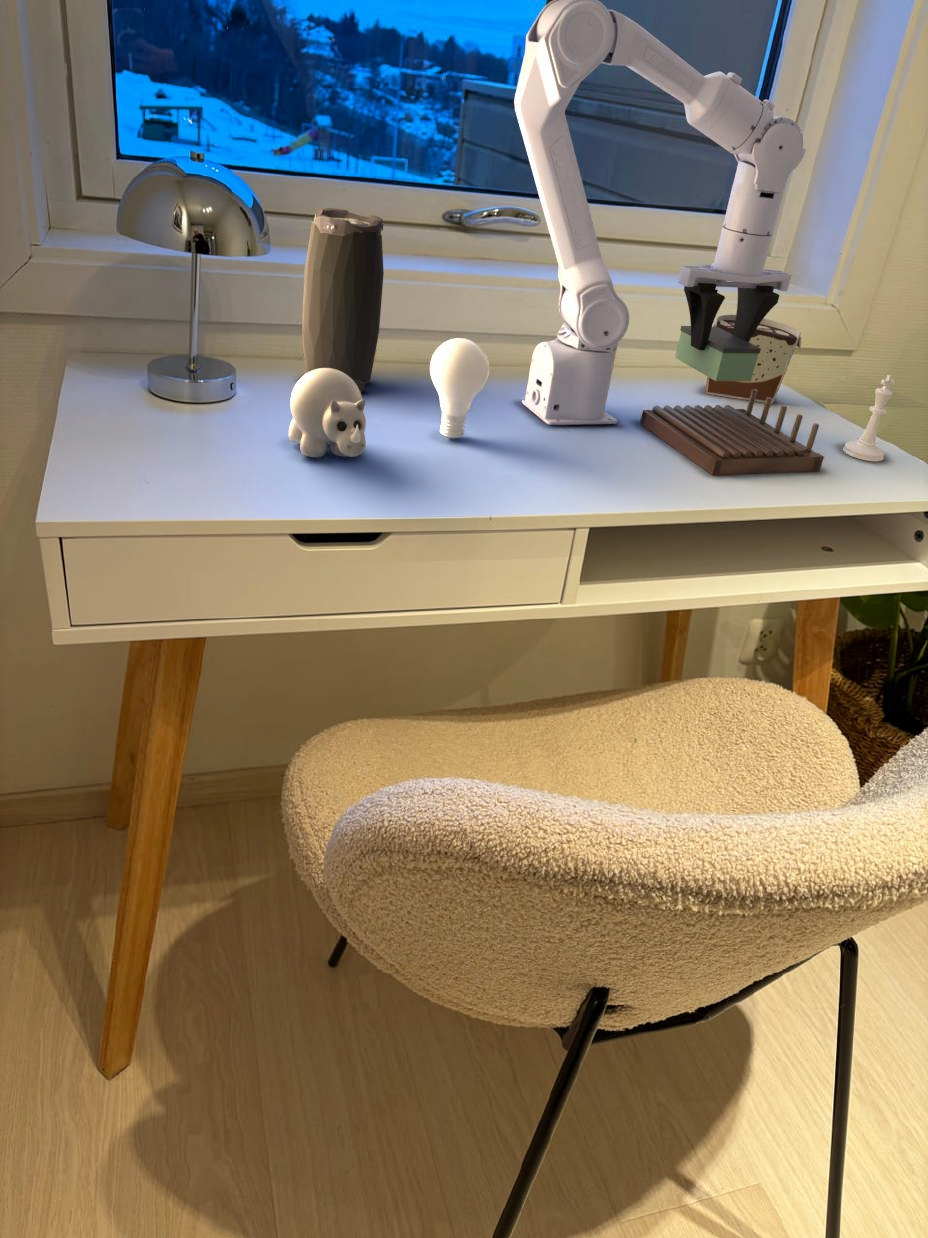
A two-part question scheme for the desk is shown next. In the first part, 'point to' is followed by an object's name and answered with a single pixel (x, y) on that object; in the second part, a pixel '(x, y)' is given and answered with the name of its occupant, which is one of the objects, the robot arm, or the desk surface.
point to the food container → (760, 360)
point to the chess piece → (871, 427)
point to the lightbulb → (458, 381)
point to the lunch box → (719, 355)
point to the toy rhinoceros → (327, 414)
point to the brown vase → (343, 293)
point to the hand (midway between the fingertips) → (717, 348)
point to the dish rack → (733, 438)
